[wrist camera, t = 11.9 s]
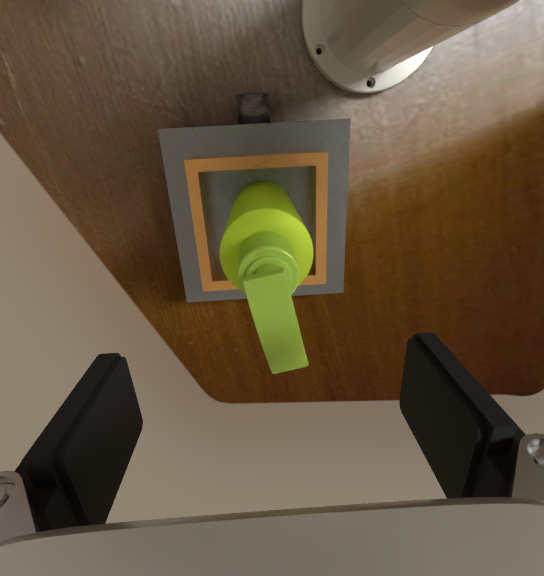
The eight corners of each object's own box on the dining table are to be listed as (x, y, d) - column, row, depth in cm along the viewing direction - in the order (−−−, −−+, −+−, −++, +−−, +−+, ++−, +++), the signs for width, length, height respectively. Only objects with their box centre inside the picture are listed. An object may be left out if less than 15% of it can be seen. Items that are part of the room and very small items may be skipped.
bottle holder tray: (163, 102, 32) (141, 93, 26) (340, 92, 33) (361, 82, 26) (193, 287, 40) (181, 315, 34) (335, 278, 41) (350, 305, 34)
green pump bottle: (245, 257, 35) (233, 390, 17) (224, 190, 32) (183, 261, 14) (300, 243, 35) (351, 363, 16) (285, 174, 32) (324, 225, 13)
